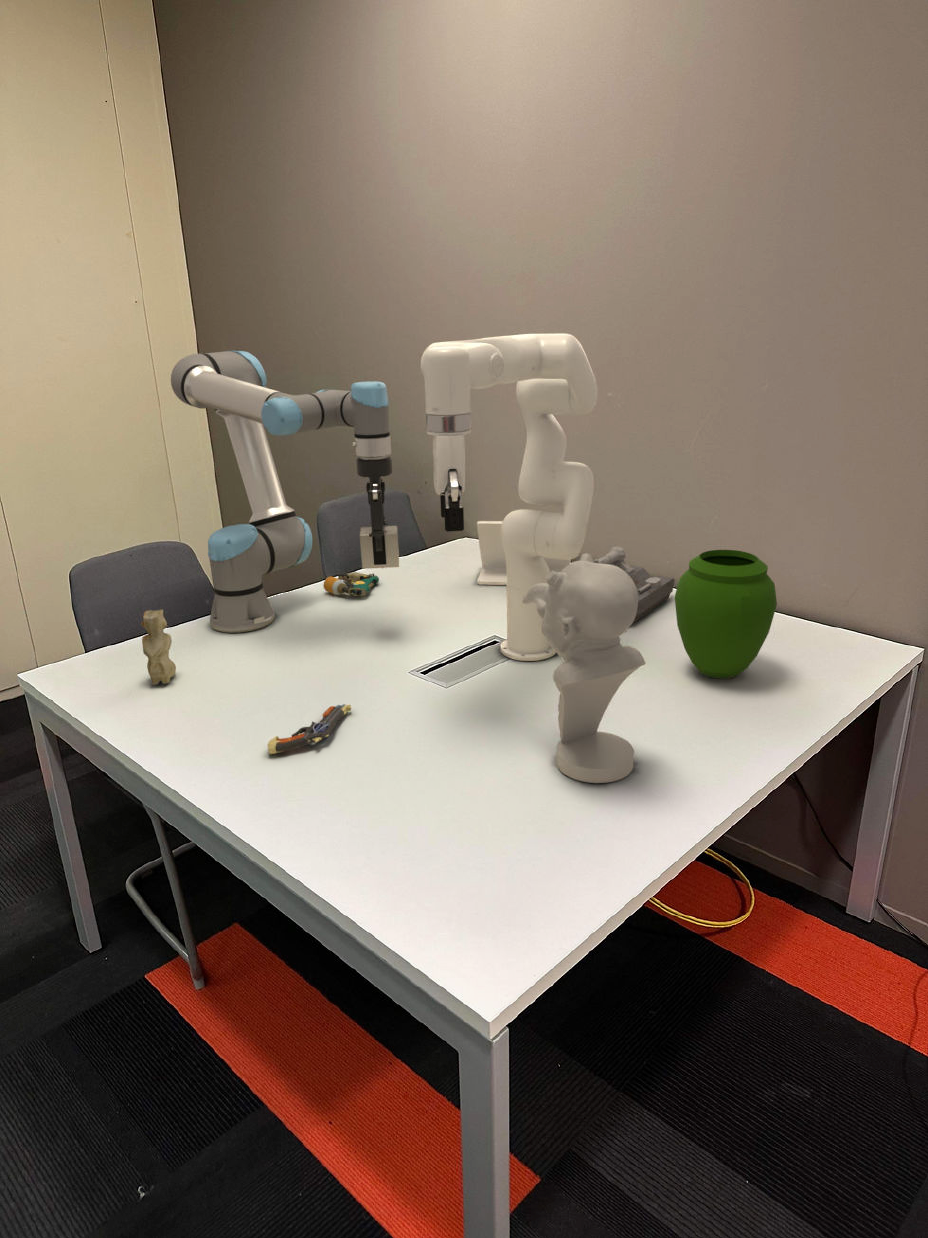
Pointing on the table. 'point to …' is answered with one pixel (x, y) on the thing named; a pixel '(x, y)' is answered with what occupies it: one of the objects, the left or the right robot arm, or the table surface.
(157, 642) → the sculpture
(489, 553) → the tablet stand
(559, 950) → the table surface
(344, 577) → the spray gun
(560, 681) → the bust sculpture
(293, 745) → the toy gun
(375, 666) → the table surface
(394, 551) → the block
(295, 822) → the table surface
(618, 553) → the toy
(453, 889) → the table surface
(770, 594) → the vase
